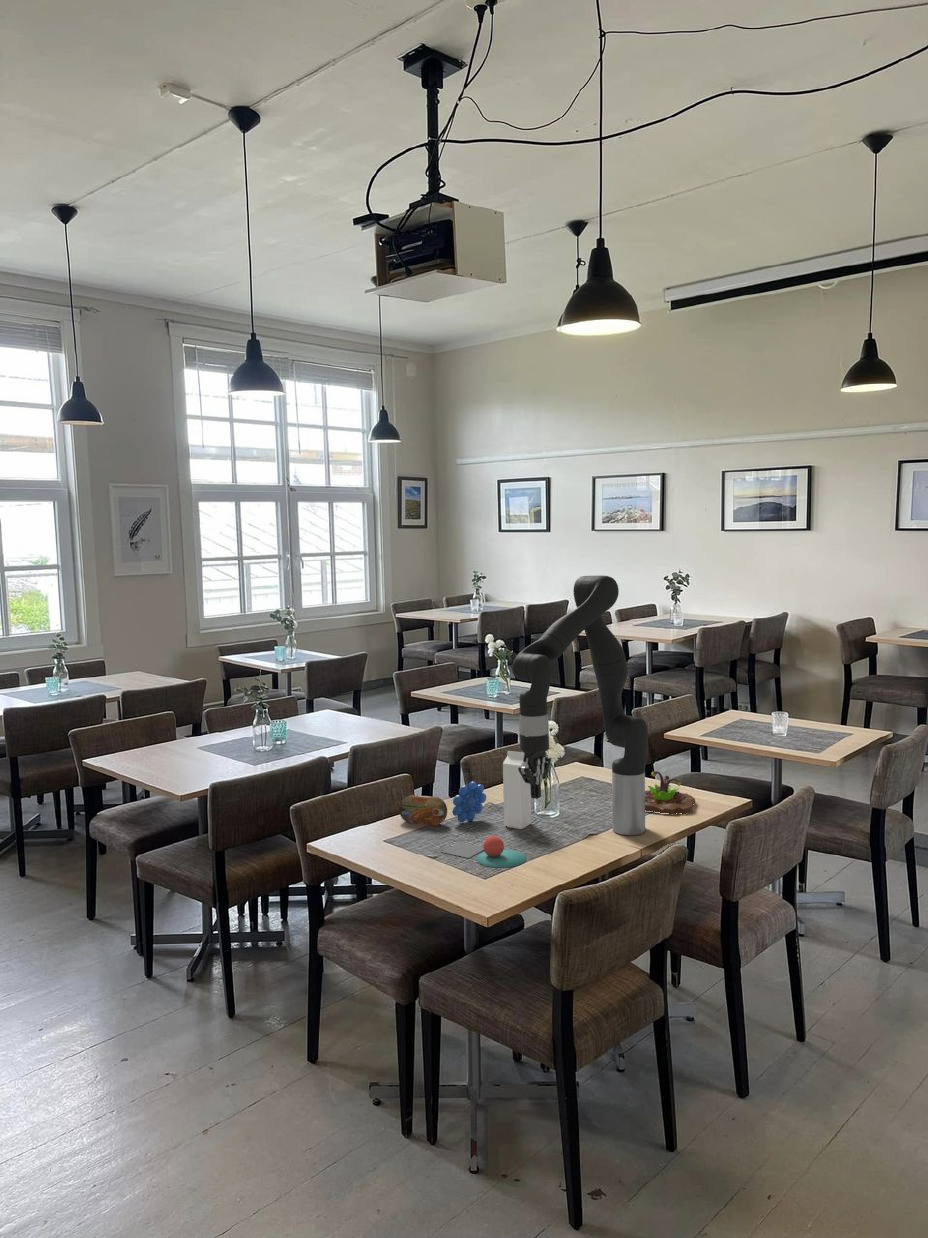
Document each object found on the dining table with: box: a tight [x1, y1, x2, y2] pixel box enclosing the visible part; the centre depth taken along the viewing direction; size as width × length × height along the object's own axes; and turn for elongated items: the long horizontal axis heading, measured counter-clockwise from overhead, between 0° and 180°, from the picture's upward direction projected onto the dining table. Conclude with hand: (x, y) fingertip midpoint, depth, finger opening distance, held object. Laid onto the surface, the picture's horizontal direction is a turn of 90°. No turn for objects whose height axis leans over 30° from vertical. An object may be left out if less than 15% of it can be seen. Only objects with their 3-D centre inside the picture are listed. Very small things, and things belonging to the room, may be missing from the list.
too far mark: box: [440, 841, 484, 859], centre depth 236 cm, size 9×9×1 cm
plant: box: [645, 770, 696, 815], centre depth 272 cm, size 20×20×11 cm
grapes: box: [452, 781, 487, 823], centre depth 262 cm, size 12×7×12 cm, turn 120°
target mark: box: [476, 849, 527, 869], centre depth 229 cm, size 13×13×1 cm
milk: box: [502, 750, 532, 830], centre depth 256 cm, size 6×6×22 cm
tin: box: [398, 794, 448, 827], centre depth 260 cm, size 15×3×8 cm, turn 68°
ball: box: [482, 835, 505, 857], centre depth 231 cm, size 6×6×6 cm
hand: (535, 797), depth 223 cm, fingers closed
